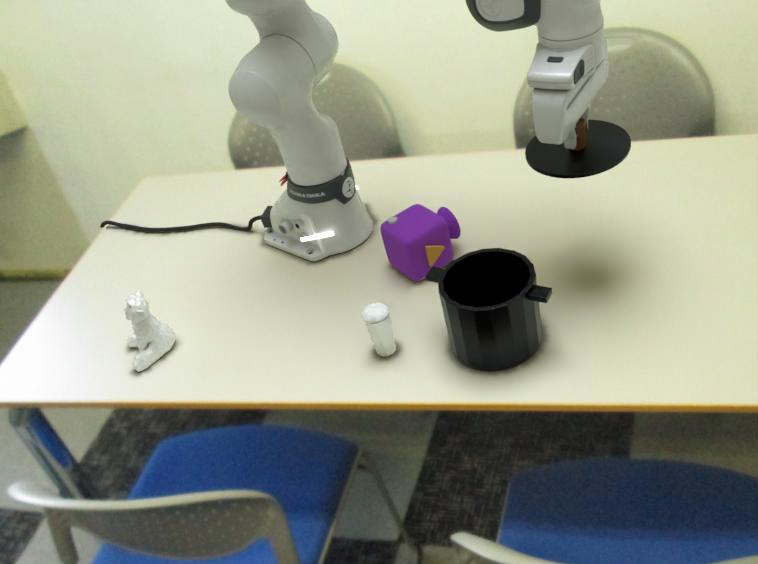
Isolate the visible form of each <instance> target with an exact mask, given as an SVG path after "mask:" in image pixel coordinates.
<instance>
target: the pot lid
mask: <svg viewBox="0 0 758 564" xmlns="http://www.w3.org/2000/svg"><path fill="white" fill-rule="evenodd" d="M575 132H576V133H578V134H579V139H578V140H579V143H578V144H577V146H576V148H575V149H566V148H565V147H564V142H563V143H562V144H546V143H541V142H540V141H539V140H538V138H537V136H536V135H535V136H533V137H532V138H531V139H530V140H529V141H528V143H527V145H526V147H525V151H524V156H525V161H526V164H528V166H529V167H530V168H531V169H532V170H533V171H535V172H536V173H539V174H541V175H543V176H547V177H551V178H556V179H581V178H587V177H592V176H596V175H599V174H601V173H602V174H603V173H604V172H607V171H609V170H612V169H613V168H615V167H617V166H618V165H620V164H621V163H622V162H623V161H624V160H626V158H627V157H628V155H629V154H630V151H631V148H632V139H631V136H630V134H629V133H628V132H627V130H626V129H625V128H623V127H622V126H620V125H619V124H615V123H613V122H611V121H606V120H601V119H600V120H599V119H588V130H587V131H586V132H585V120H584V119H583V118H580V119H579V121H578V122H577V123H576V128H575Z"/></svg>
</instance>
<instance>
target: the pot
mask: <svg viewBox="0 0 758 564" xmlns="http://www.w3.org/2000/svg"><path fill="white" fill-rule="evenodd" d="M425 280H426V282H431V283H435V284H436V283H437V287H438V288H437V289H438V294H439V299H440V303H441V308H442V313H443V317H444V322H445V327H446V330H447V336H448V339H449V345H450V349H451V351H452V353H453V355H454V357H455V358H456V359H457V361H459V362H460V363H461V364H462V365H464V366H466V367H468V368H470V369H473V370H476V371H481V372H499V371H501V372H502V371H505V370H510V369H513V368H515V367H518V366H520V365H522V364H524V363H525V362H527V361H528V360H530V359H531V357H533V356H534V355H535V354H536V353H537V351H538V349H539V348H540V346H541V344H542V339H543V326H542V318H541V317H542V316H541V308H540V303H543V304H547V303H548V302H549V300H550V298H551V297H552V295H553V288H552V287H549V286H544V285H538V280H537V272H536V267H535V265H534V263H533V262H532V261H531V260H530V259H529V257H527V256H526V255H525V254H523V253H521V252H518V251H516V250H513V249H508V248H502V247H491V248H488V247H487V248H480V249H476V250H473V251H469V252H466V253H464V254H462V255H460V256H459V257H457V258H455V259H452V260H451V261H450V262H449V263H448V264H447V266H445V268H443V267H441V268H438V267H432V268H431V269H430V271H429V272H428V273H427V275H426V277H425Z"/></svg>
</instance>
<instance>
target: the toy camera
mask: <svg viewBox="0 0 758 564" xmlns="http://www.w3.org/2000/svg"><path fill="white" fill-rule="evenodd" d="M379 228H380V234H381V239H382V243H383V246H384V250H385V254H386V257H387V260H388V263H389V264H390V265H391V266H392V267H393V268H395V269H396V270H397V271H399V272H400V273H402V274H403V275H404V276H406V277H407V278H409V279H411V280H412V281H414V282H420V281H422V280H423V279H426V275H427V273H428V272H429V271H430V269H431V268H432V267H438V268H443V267H444V266H445V267H446V265H449V264H450V263H451V262H452V261H453V260H454V251H453V245H452V244H453V243H452V240H458V239H460V237H461V233H462V231H461V226H460V223H459V221H458V219H457V217H456V215H455V214H454V213H453V211H451V210H450V208H448V207H445V206H440V207H439V208H438V209H437V211H436V212H435V211H433V210H431V209H430V208H428V207H426V206H425V205H423V204H419V203H415V204H413V205H410V206H409V207H407V208H405V209H403V210H402V211H400V212H398V213H397V214H395V215H392V216H389V217H388V218H387V219H386V220H385V221H384V222H382V223H381V224H380V227H379Z"/></svg>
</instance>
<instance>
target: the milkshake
mask: <svg viewBox="0 0 758 564" xmlns="http://www.w3.org/2000/svg"><path fill="white" fill-rule="evenodd" d="M390 305H393V302H391V303H390ZM391 307H392V306H390V307H389V306H388V305H387V304H386V303H383V302H371V303H369V304H368V305H366V306H365V307H364V308H363V310H362V312H361V319H362V321H363V323H364V326H365V327H366V330H367V332H368V335H369V337H370V340H371V341H372V344H373V347H374V349H375V351H376V353H377V355H379V356H380V357H390V356H391V355H394V354H395V353H396V351H397V346H396V339H395V336H394V329H393V323H392V315H391Z"/></svg>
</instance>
